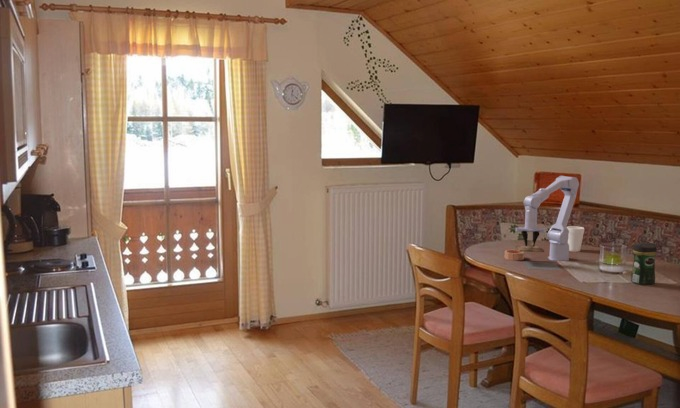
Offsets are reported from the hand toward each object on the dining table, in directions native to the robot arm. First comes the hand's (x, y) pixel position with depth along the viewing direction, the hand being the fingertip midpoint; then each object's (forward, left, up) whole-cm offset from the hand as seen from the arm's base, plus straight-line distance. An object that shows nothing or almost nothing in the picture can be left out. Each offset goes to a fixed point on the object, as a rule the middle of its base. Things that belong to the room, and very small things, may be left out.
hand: (529, 245), depth 322 cm
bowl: (+6, -8, -9) cm, 14 cm away
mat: (-5, +7, -9) cm, 12 cm away
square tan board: (0, 0, -2) cm, 2 cm away
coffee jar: (-45, +32, -9) cm, 56 cm away
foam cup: (-31, -35, -9) cm, 48 cm away
